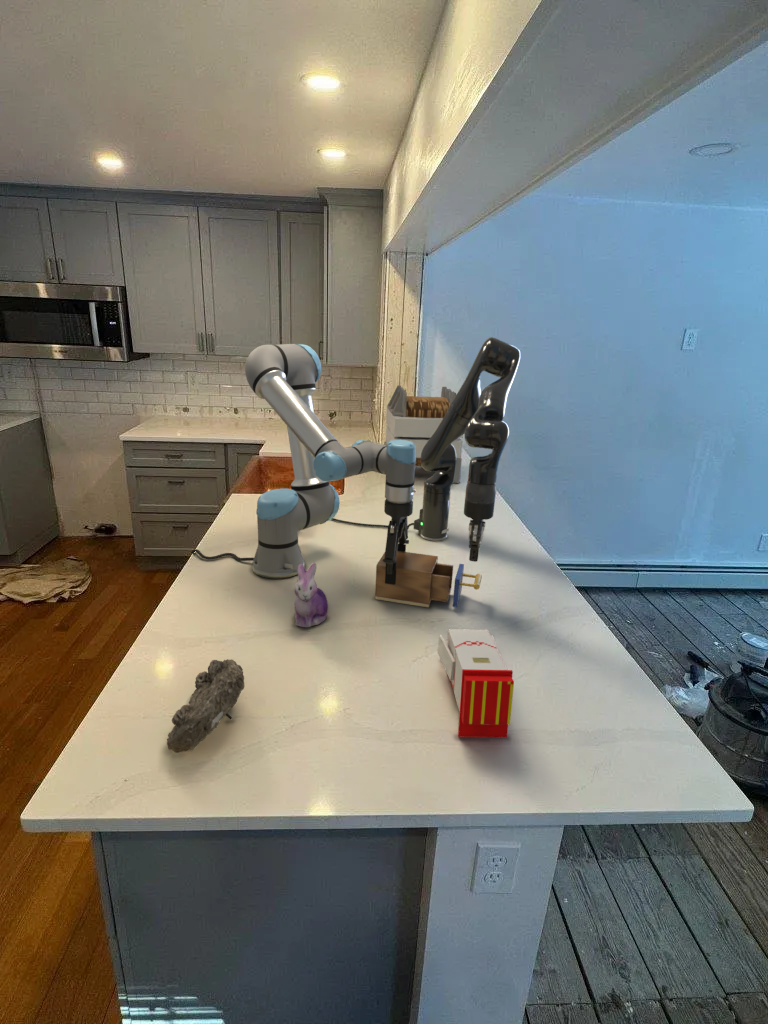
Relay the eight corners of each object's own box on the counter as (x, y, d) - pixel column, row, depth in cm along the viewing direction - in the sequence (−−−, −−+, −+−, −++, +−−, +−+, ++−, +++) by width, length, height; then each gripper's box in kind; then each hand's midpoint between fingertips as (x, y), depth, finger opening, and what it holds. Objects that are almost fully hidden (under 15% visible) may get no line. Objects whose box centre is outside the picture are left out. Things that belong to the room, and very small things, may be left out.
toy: (488, 613, 130) (523, 677, 101) (484, 667, 133) (517, 744, 104) (435, 612, 130) (455, 676, 101) (432, 666, 133) (451, 743, 103)
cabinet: (435, 588, 162) (438, 556, 158) (428, 607, 151) (431, 573, 148) (385, 581, 165) (386, 549, 161) (375, 599, 155) (376, 565, 151)
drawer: (480, 593, 158) (482, 566, 155) (476, 610, 149) (479, 582, 146) (414, 583, 162) (416, 557, 159) (407, 599, 153) (408, 572, 150)
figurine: (299, 632, 137) (299, 576, 132) (286, 613, 145) (285, 559, 140) (336, 624, 141) (336, 570, 136) (320, 605, 149) (321, 553, 144)
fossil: (192, 660, 117) (244, 628, 112) (224, 691, 120) (276, 661, 115) (142, 746, 98) (202, 712, 93) (182, 779, 101) (242, 748, 96)
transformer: (382, 463, 289) (386, 382, 275) (445, 464, 293) (451, 384, 279) (390, 482, 257) (394, 392, 243) (460, 483, 261) (468, 394, 247)
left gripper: (403, 515, 138) (398, 595, 145) (421, 488, 160) (416, 559, 167) (373, 512, 140) (370, 591, 147) (395, 485, 161) (391, 555, 169)
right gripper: (493, 508, 137) (485, 572, 143) (496, 492, 149) (489, 552, 155) (462, 504, 139) (456, 568, 145) (468, 489, 151) (462, 548, 157)
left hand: (395, 574), depth 157 cm, fingers closed on cabinet, 11 cm apart
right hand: (473, 560), depth 150 cm, fingers closed
